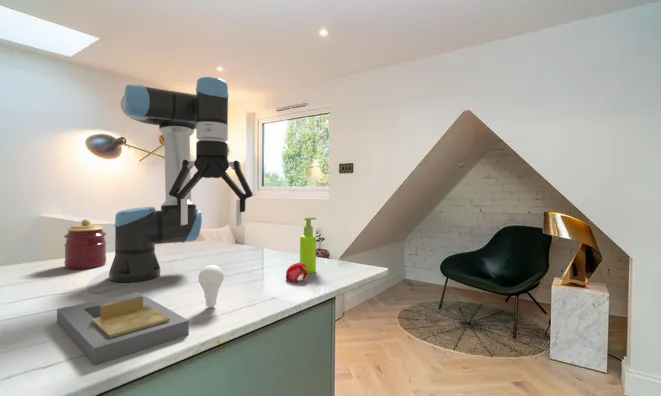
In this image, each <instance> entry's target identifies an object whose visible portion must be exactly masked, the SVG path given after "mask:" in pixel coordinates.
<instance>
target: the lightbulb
mask: <svg viewBox="0 0 661 396" xmlns="http://www.w3.org/2000/svg"><path fill="white" fill-rule="evenodd" d="M224 278H225V276H224V271H223V270H222V268H221V267H219V266H217V265H216V264H215V265H214V264H210V265H207V266H205V267H203V268H202V269H201V270H200V271H199V274H198V283H199V285H200V287H201V289H202V290H203V293H204V299H205V306H206V307H208V308H209V309H212V308H214V307H215V306H217V299H218V294H219V289H220V287H221V286H222V283H223V281H224Z"/></svg>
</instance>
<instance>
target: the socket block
mask: <svg viewBox="0 0 661 396" xmlns="http://www.w3.org/2000/svg"><path fill="white" fill-rule="evenodd" d="M140 296H142V297H143V307H144V306H150V307H151V308H153V309H155V310H157V311H158V312H160V313H162V314H163V315H165V316H167V317H168V318H170V321H168V322H164V323H161V324H157V325H154V326H150V327H147V328H143V329H140V330H136V331H133V332H129V333H126V334H122V335H119V336H115V337H112V338H109V337H108V336H107V335H105V334H104V333H103V332H102V331H101V330H100V329H99V328H98V327H97V326H96V325H94V324H93V323H92V319H94V318H98V317H100V305H103V304H107V303H112V302H117V301H121V300H126V299H131V298H135V297H140ZM56 323H57V324H58V325H59V326H60V327H61V329H62V330H63V331H64V332H65V333H66V334H67V336H68V337H69V338H70V339H71V340H72V341H73V342H74V343H75V344H76V346H77V347H78V348H79V350H81V352H82V353H83V355H85V356H86V357H87V359H88V360H89V361H90V362H91V363H92V365H94V366H96V365H99V364H102V363H106V362H108V361H113V360H114V359H117V358H121V357H124V356H127V355H130V354H134V353H137V352H139V351H142V350H146V349H149V348H151V347H154V346H157V345H161V344H164V343H166V342H169V341H173V340H176V339H179V338H182V337H185V336H188V335H189V334H190V333H189V332H190V329H189V328H190V325H189V324H190V320H189V319H187V318H185V317H184V316H181V315H180V314H178V313H176V312H174V311H173V310H171V309H169V308H167V307H165V306H164V305H162V304H160V303H158V302H156V301H155V300H153V299H151V298H149V297H147V296H146V295H144V294H142V293H141V292H139V291H138V292H137V291H136V292H133V293H127V294H122V295H118V296H112V297H108V298H104V299H100V300H98V299H97V300H93V301H89V302H84V303H83V302H82V303H79V304H75V305H70V306H66V307H65V306H64V307H60V308H56Z"/></svg>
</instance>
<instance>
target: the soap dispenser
mask: <svg viewBox="0 0 661 396" xmlns="http://www.w3.org/2000/svg"><path fill="white" fill-rule="evenodd" d="M303 220H304V221H306V222H305V226H303V235H302V234H301V235H300V239H299V240H300V241H299V244H300V245H299V263H303V264H305V265H306V266H305V267H304V268H305V269H306V271H307V274H311V273H312V274H313V273H316V269H317V267H316V266H317V265H316V263H317V261H316V260H317V258H316V257H317V236H316V235H313V234H314V227H313V226H312V225H311V223H312V222H311V221H312V220H317V218H316V217H310V216H309V217H308V216H307V217H304V218H303Z"/></svg>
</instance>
